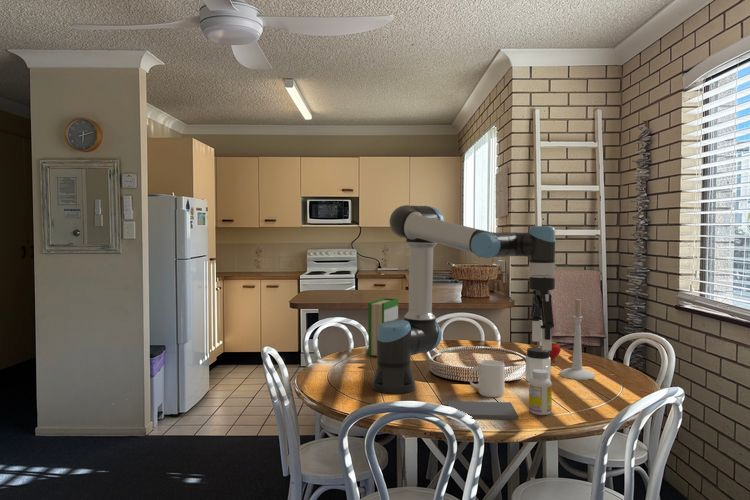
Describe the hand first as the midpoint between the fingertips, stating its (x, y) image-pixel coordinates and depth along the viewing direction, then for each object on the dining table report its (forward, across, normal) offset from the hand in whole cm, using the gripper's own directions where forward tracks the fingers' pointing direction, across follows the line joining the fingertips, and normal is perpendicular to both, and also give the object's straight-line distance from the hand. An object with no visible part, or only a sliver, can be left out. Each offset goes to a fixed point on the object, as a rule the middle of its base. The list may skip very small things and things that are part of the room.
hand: (541, 345), depth 175 cm
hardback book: (+20, +79, +53) cm, 97 cm away
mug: (+21, +19, +14) cm, 32 cm away
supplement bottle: (+21, 0, 0) cm, 21 cm away
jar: (+21, +36, -7) cm, 42 cm away
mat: (+21, -1, +18) cm, 27 cm away
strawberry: (+21, +70, -20) cm, 76 cm away
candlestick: (+21, +46, -24) cm, 56 cm away
